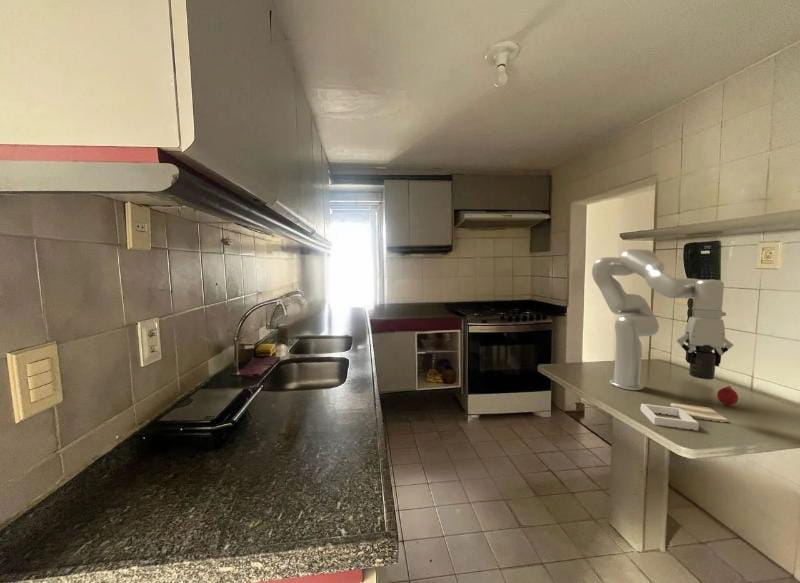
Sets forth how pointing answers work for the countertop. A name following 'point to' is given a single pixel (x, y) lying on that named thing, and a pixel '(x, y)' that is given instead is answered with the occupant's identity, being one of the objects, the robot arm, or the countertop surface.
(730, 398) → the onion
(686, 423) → the white square frame
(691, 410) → the board
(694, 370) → the supplement bottle
